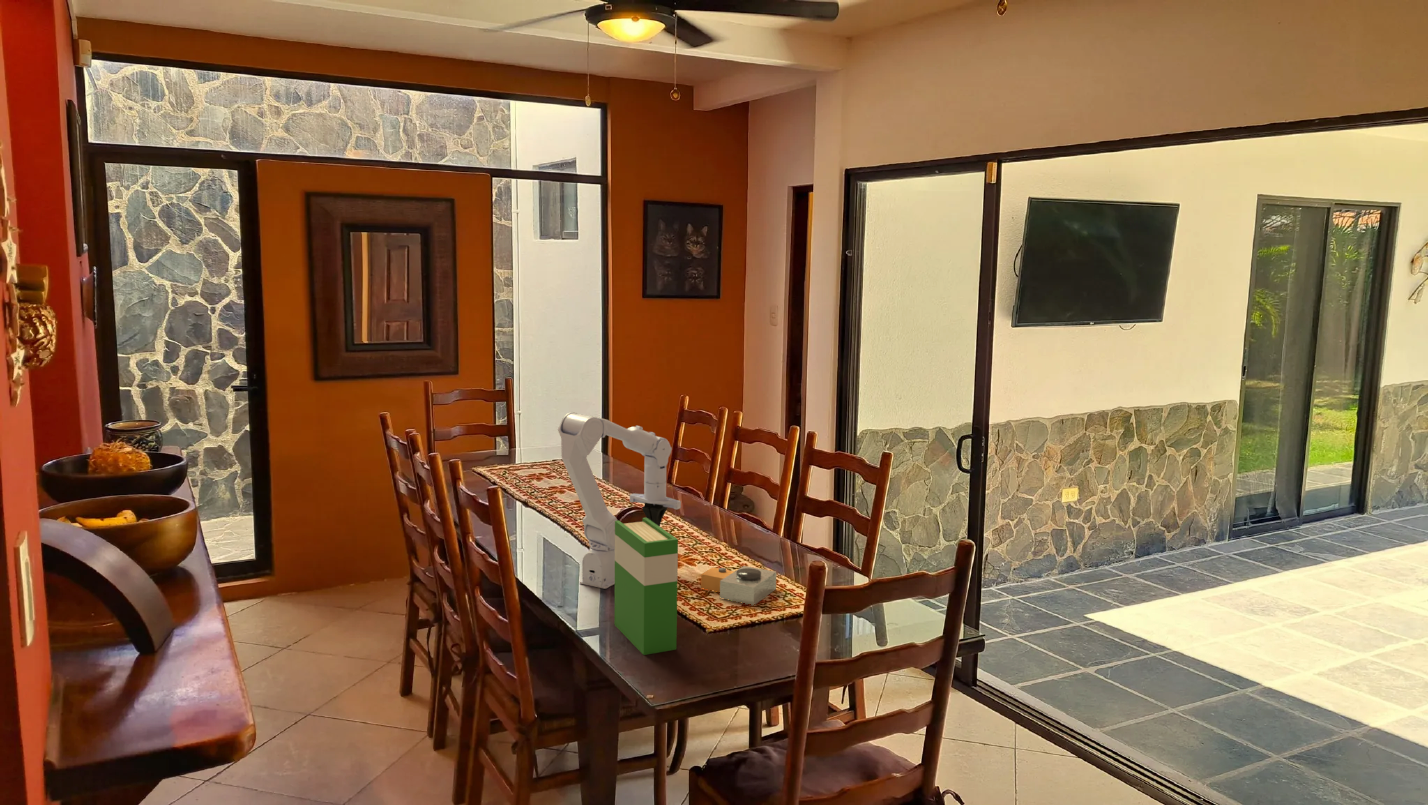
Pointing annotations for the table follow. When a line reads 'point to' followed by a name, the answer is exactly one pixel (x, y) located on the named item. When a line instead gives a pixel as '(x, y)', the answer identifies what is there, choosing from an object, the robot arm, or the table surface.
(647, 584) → the hardback book
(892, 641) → the table surface
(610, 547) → the robot arm
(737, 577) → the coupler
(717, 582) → the lock block
